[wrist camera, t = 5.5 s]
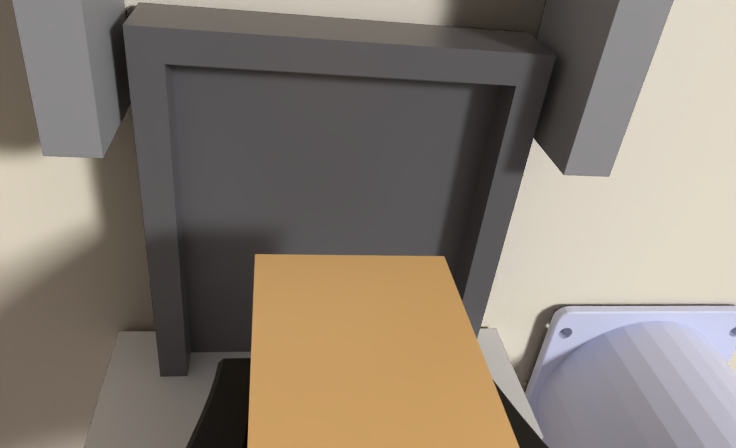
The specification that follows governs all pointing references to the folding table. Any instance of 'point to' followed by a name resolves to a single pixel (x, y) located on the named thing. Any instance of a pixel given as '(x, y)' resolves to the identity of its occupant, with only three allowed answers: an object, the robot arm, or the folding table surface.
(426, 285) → the block
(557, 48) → the frame
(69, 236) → the folding table surface
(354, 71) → the tray
